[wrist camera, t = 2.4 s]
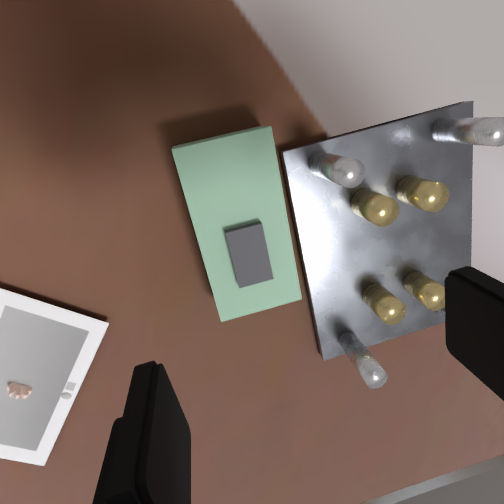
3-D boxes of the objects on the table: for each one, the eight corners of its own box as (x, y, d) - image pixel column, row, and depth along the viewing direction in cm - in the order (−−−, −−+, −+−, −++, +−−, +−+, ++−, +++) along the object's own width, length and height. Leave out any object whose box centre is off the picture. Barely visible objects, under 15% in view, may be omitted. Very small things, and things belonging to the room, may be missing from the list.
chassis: (279, 151, 24) (306, 159, 18) (462, 101, 25) (540, 95, 20) (319, 353, 31) (348, 404, 25) (462, 308, 32) (519, 347, 26)
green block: (173, 145, 23) (171, 150, 19) (259, 125, 24) (273, 126, 20) (216, 298, 28) (222, 326, 24) (288, 278, 28) (304, 303, 24)
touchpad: (-54, 434, 28) (-73, 458, 26) (1, 279, 24) (-16, 293, 22) (48, 454, 30) (39, 478, 28) (112, 315, 27) (106, 331, 25)
